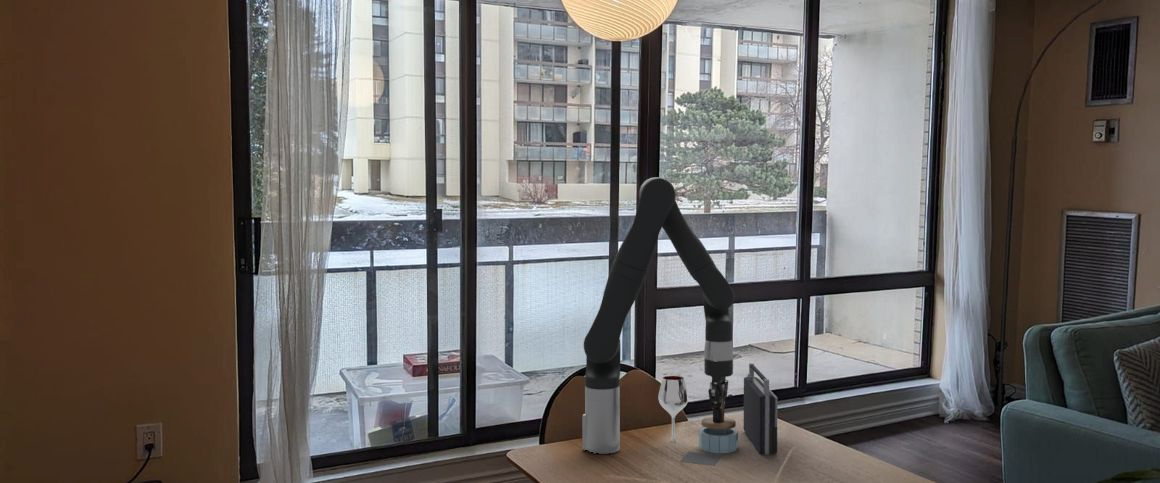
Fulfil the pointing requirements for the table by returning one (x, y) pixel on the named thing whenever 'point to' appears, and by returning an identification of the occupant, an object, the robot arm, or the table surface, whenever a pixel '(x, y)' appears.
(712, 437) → the bowl
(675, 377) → the wineglass
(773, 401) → the radio
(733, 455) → the table surface
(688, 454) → the mat
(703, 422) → the lid
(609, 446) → the robot arm
